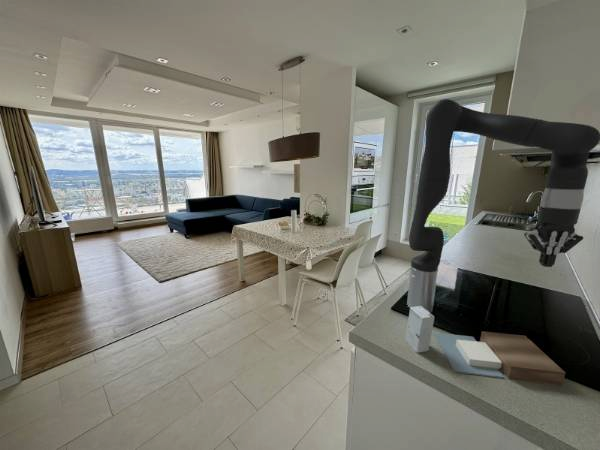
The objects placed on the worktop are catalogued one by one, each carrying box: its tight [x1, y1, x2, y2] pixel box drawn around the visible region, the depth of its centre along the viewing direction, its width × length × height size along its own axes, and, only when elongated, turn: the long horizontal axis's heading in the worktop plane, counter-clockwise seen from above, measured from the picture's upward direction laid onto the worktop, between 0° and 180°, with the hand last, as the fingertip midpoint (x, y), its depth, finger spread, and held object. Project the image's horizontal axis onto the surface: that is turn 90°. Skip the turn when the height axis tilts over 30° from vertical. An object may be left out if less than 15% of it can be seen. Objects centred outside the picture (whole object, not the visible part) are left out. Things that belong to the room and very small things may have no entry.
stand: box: [479, 331, 566, 387], centre depth 68 cm, size 14×12×4 cm
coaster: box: [456, 340, 502, 370], centre depth 70 cm, size 8×8×2 cm
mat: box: [433, 332, 505, 379], centre depth 72 cm, size 16×12×1 cm
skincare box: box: [405, 306, 435, 353], centre depth 74 cm, size 6×4×12 cm
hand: (545, 265), depth 68 cm, fingers closed
